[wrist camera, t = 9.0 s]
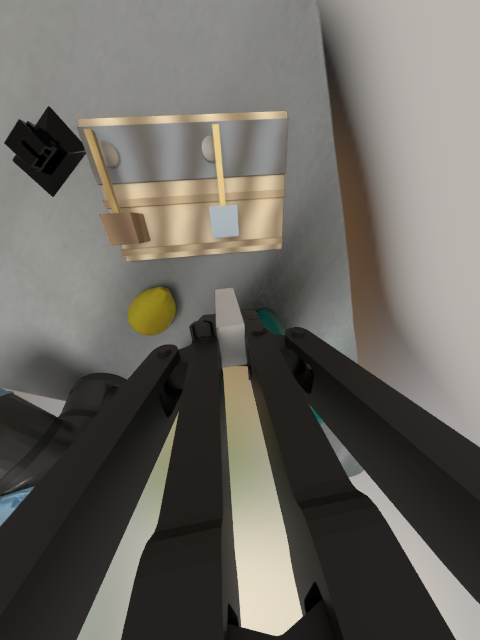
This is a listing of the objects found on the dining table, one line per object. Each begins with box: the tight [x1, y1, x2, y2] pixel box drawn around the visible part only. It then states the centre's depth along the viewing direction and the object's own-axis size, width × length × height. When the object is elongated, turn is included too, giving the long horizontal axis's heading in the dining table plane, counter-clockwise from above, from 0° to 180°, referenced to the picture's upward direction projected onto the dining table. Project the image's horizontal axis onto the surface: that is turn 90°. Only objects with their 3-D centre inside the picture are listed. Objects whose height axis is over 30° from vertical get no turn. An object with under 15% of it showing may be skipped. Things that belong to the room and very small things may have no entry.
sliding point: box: [209, 124, 239, 238], centre depth 26 cm, size 4×12×5 cm, turn 4°
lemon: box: [127, 286, 176, 336], centre depth 34 cm, size 11×8×8 cm
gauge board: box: [77, 111, 288, 261], centre depth 27 cm, size 28×18×6 cm, turn 94°
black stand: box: [4, 106, 86, 197], centre depth 24 cm, size 12×7×5 cm, turn 128°
